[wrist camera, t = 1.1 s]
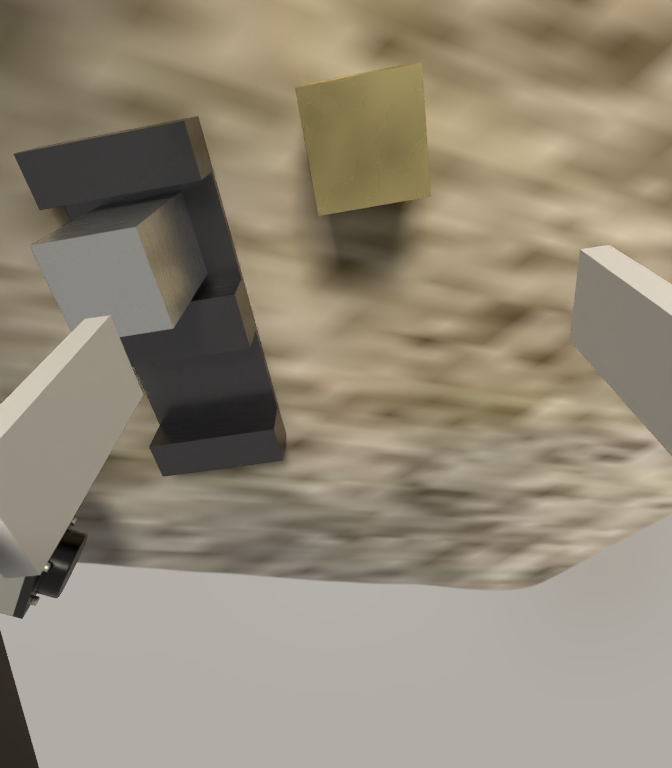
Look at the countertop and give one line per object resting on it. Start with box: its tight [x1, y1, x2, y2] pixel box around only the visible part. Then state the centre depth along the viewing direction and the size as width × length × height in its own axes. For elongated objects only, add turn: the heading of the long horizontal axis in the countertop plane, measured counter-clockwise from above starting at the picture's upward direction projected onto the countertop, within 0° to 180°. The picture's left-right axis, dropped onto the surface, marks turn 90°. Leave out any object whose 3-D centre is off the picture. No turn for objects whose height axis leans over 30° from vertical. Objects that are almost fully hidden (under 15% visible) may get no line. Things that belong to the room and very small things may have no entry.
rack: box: [14, 116, 286, 476], centre depth 32 cm, size 22×9×3 cm, turn 10°
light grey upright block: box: [30, 191, 208, 337], centre depth 27 cm, size 5×5×8 cm
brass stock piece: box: [295, 63, 431, 216], centre depth 24 cm, size 5×5×8 cm
